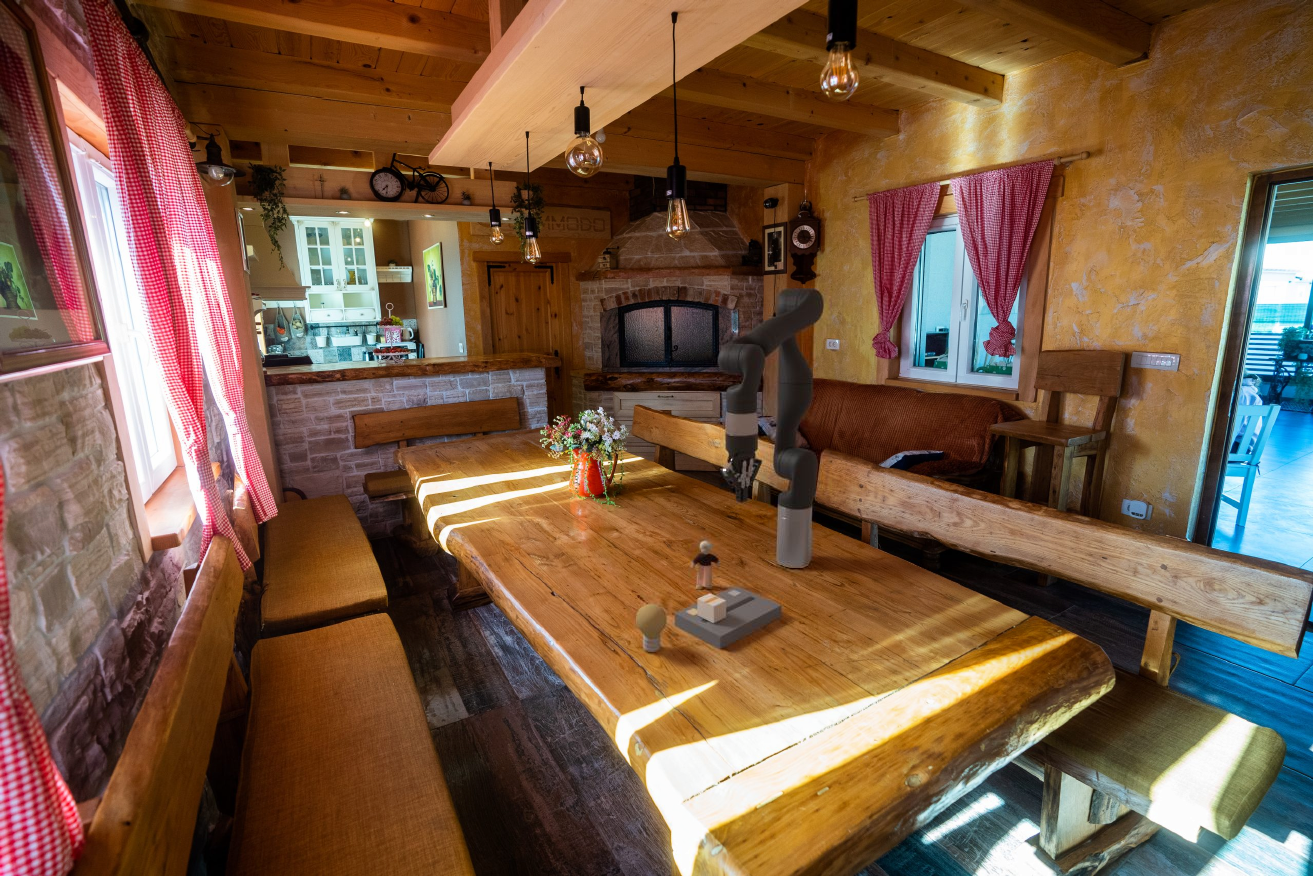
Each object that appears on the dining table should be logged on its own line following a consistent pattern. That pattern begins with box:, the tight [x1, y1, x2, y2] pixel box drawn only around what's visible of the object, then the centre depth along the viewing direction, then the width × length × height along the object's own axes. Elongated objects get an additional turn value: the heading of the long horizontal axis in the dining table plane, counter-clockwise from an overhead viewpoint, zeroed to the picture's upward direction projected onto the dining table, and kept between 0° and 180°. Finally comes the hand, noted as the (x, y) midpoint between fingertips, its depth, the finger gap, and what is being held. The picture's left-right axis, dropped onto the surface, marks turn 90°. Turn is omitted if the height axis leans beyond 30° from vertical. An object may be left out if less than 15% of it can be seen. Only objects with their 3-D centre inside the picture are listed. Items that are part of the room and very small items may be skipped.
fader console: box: [674, 585, 783, 650], centre depth 145 cm, size 21×14×3 cm, turn 132°
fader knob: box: [696, 592, 726, 623], centre depth 140 cm, size 4×5×4 cm
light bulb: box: [635, 603, 668, 653], centre depth 133 cm, size 6×6×10 cm
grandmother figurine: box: [690, 540, 722, 590], centre depth 161 cm, size 8×4×13 cm, turn 105°
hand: (741, 501), depth 150 cm, fingers closed
